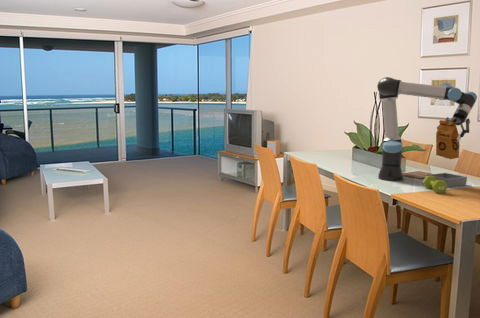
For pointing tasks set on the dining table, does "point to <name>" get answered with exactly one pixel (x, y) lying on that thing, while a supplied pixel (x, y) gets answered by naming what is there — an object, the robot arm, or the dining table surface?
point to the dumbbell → (435, 184)
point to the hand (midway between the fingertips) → (447, 139)
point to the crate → (451, 179)
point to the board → (416, 174)
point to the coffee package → (447, 140)
